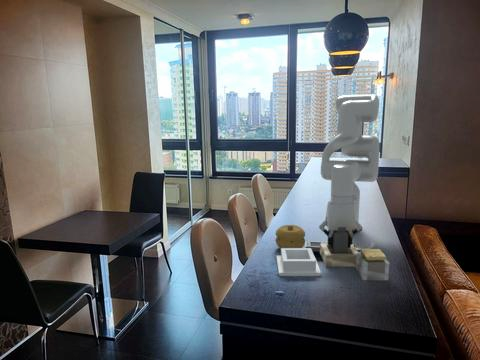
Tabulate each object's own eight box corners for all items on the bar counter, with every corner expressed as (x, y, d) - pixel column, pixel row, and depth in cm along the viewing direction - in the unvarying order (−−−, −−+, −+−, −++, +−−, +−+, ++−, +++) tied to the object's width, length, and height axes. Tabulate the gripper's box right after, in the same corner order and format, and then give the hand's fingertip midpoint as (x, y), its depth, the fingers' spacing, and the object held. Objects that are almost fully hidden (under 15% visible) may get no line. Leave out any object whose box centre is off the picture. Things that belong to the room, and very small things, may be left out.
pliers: (372, 240, 144) (377, 254, 130) (372, 243, 145) (376, 258, 131) (347, 238, 147) (349, 252, 133) (347, 241, 147) (349, 256, 133)
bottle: (345, 255, 133) (346, 217, 130) (349, 262, 127) (351, 223, 124) (329, 255, 133) (330, 217, 130) (332, 262, 127) (334, 223, 124)
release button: (359, 265, 121) (360, 249, 120) (378, 265, 120) (379, 248, 119) (365, 274, 114) (366, 256, 113) (385, 274, 114) (386, 256, 113)
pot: (297, 257, 133) (298, 232, 130) (270, 251, 139) (270, 227, 137) (309, 246, 142) (310, 223, 140) (283, 241, 148) (283, 218, 146)
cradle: (276, 258, 132) (276, 246, 131) (314, 258, 131) (314, 246, 130) (279, 276, 118) (279, 263, 117) (321, 276, 118) (321, 262, 117)
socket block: (319, 252, 136) (320, 238, 135) (366, 252, 135) (367, 237, 134) (332, 280, 115) (332, 263, 113) (388, 280, 114) (389, 263, 113)
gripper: (362, 196, 129) (360, 242, 132) (315, 196, 129) (314, 242, 133) (369, 201, 121) (366, 250, 125) (318, 202, 122) (317, 250, 126)
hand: (339, 246), depth 129 cm, fingers closed on bottle, 5 cm apart
